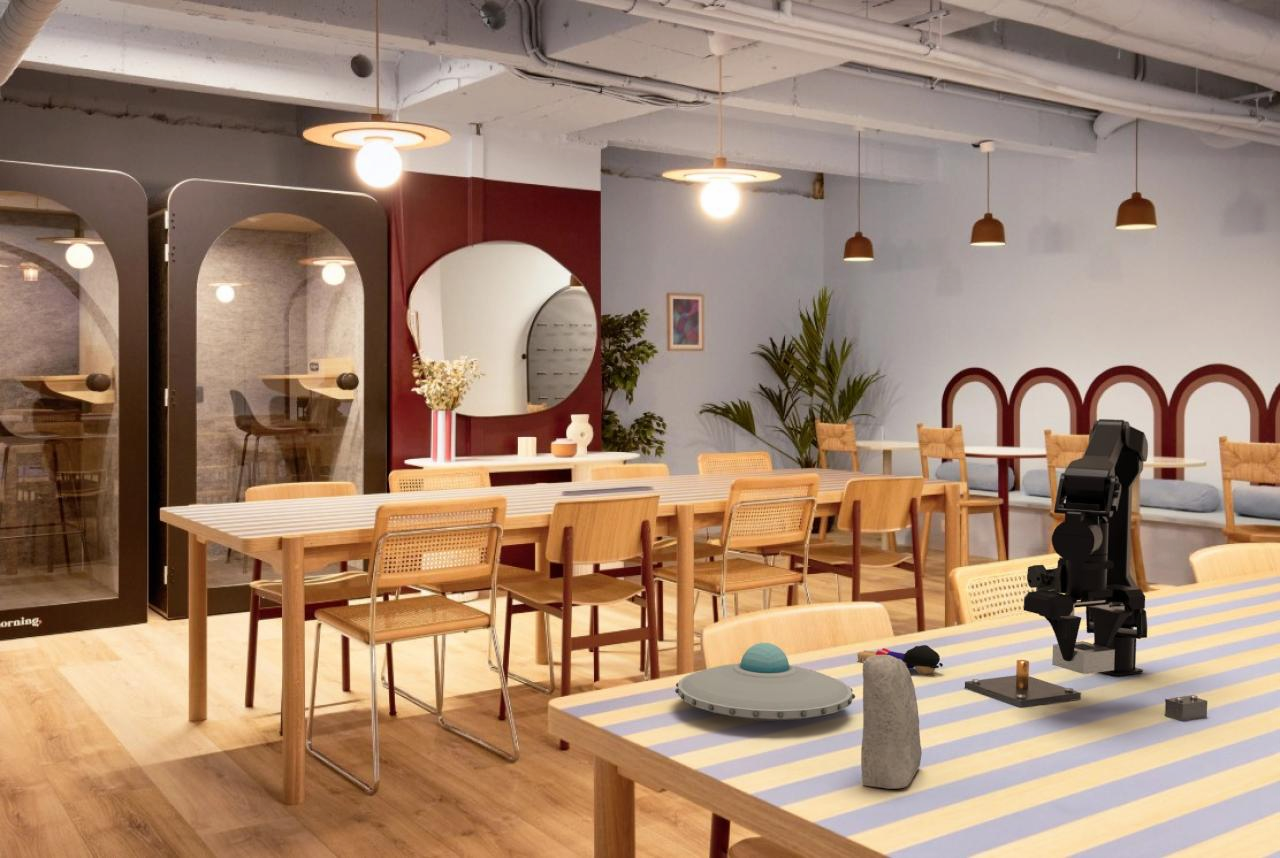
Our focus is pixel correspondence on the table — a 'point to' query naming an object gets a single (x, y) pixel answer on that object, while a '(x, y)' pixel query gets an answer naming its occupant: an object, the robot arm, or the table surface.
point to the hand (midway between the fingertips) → (1083, 658)
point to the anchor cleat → (1186, 708)
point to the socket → (1086, 658)
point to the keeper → (1022, 689)
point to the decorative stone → (889, 724)
